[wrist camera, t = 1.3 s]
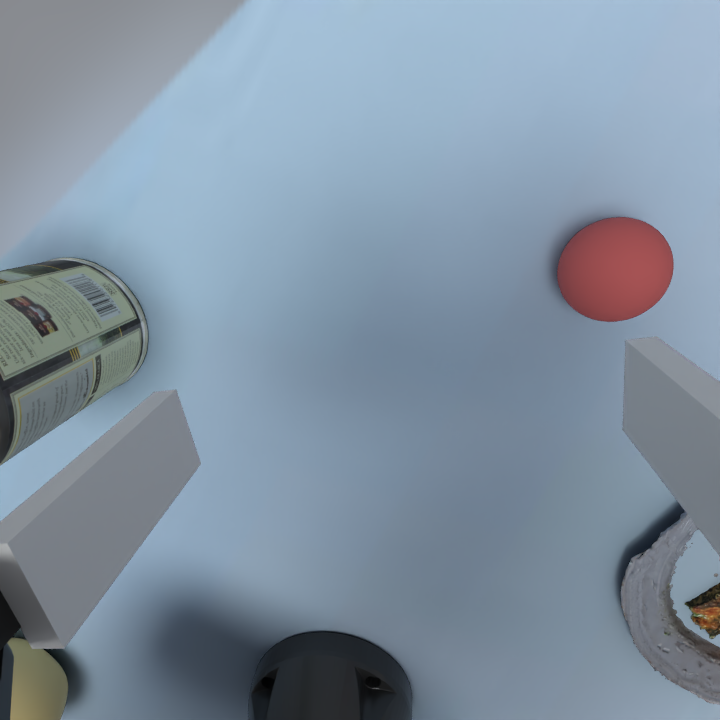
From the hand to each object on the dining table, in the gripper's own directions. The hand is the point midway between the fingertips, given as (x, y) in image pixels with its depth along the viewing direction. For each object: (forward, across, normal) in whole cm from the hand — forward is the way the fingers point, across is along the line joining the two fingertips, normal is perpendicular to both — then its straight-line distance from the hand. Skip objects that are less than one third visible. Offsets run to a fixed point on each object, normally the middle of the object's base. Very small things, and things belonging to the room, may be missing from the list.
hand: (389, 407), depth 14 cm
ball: (+17, -12, +1) cm, 21 cm away
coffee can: (+19, +24, 0) cm, 31 cm away
